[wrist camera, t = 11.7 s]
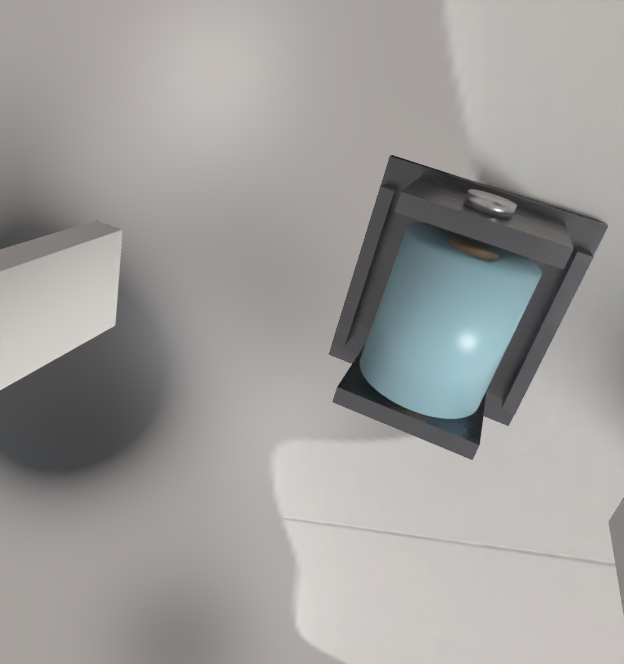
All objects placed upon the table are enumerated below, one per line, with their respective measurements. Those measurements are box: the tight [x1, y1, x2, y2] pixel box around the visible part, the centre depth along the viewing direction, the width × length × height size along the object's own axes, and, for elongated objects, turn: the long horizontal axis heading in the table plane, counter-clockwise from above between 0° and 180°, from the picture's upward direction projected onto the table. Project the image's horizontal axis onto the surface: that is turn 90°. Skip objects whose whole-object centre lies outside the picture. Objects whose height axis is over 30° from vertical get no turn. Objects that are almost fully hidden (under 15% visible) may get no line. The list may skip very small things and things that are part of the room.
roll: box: [360, 222, 542, 419], centre depth 31 cm, size 8×7×7 cm
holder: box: [329, 155, 608, 460], centre depth 32 cm, size 13×12×7 cm
